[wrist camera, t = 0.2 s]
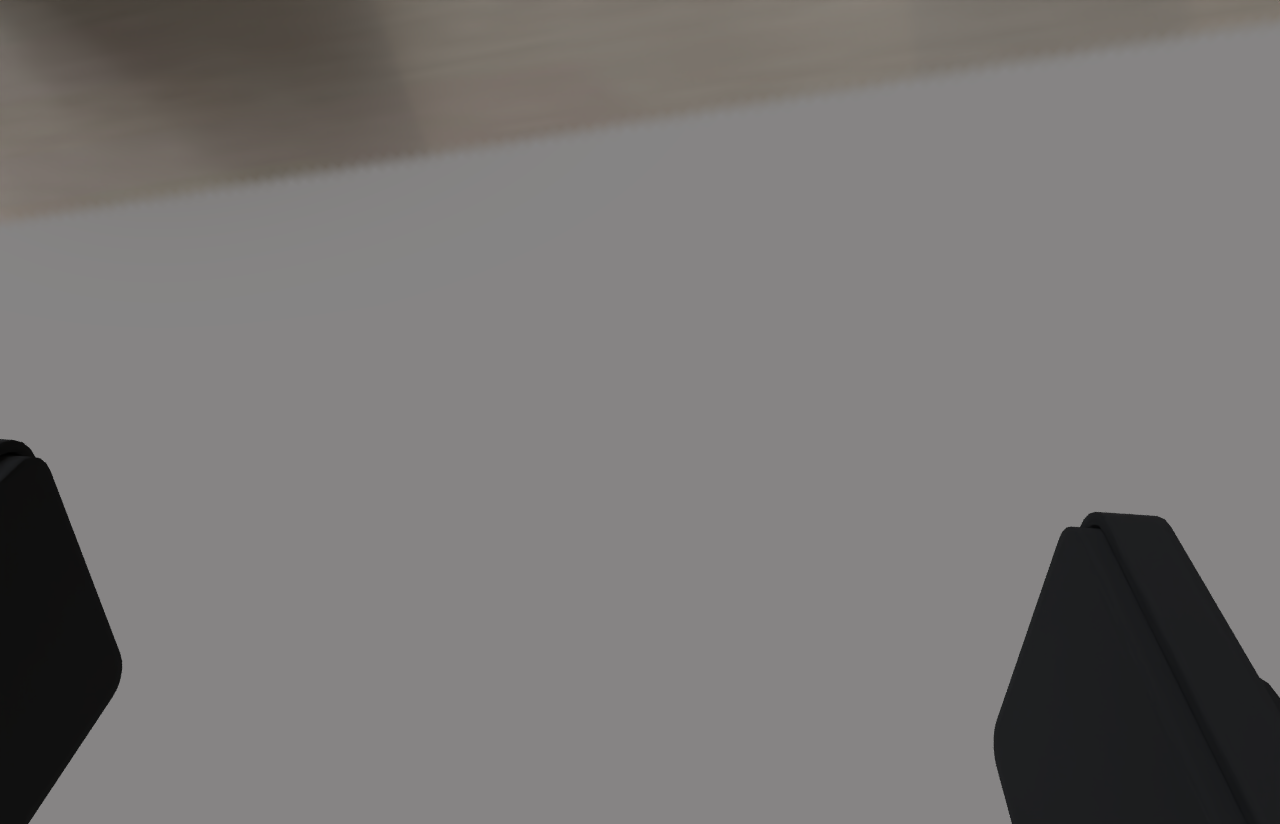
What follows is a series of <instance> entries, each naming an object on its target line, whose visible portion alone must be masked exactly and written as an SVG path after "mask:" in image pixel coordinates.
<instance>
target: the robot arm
mask: <svg viewBox="0 0 1280 824" xmlns="http://www.w3.org/2000/svg"><path fill="white" fill-rule="evenodd" d="M121 673H122V659H121V655H120V652H119V649H118V646H117V644H116V641H115V639H114V636H113V633H112V631H111V628H110V626H109V623H108V620H107V618H106V615H105V612H104V610H103V607H102V605H101V602H100V599H99V597H98V594H97V592H96V589H95V587H94V584H93V581H92V579H91V576H90V573H89V570H88V568H87V565H86V563H85V560H84V557H83V555H82V552H81V550H80V547H79V544H78V542H77V539H76V536H75V534H74V531H73V529H72V526H71V523H70V521H69V518H68V516H67V513H66V510H65V508H64V505H63V502H62V500H61V497H60V495H59V492H58V489H57V487H56V484H55V482H54V479H53V476H52V474H51V471H50V469H49V467H48V466H47V464H46V463H45V462H44V461H43V460H41V459H40V458H36V457H35V456H34V454H33V452H32V451H31V449H30V448H29V447H28V446H26V445H25V444H24V443H23V442H18V441H15V440H4V439H0V824H28V823H29V822H30V820H31V819H32V817H33V816H34V814H35V813H36V811H37V810H38V808H39V807H40V805H41V804H42V802H43V801H44V799H45V798H46V796H47V795H48V793H49V792H50V790H51V788H52V787H53V786H54V784H55V783H56V781H57V780H58V778H59V777H60V775H61V774H62V772H63V771H64V769H65V768H66V766H67V765H68V763H69V762H70V760H71V759H72V757H73V755H74V754H75V753H76V751H77V749H78V748H79V746H80V745H81V744H82V742H83V741H84V739H85V738H86V736H87V735H88V733H89V731H90V730H91V729H92V727H93V726H94V724H95V723H96V721H97V720H98V718H99V716H100V715H101V714H102V712H103V710H104V709H105V707H106V706H107V705H108V703H109V702H110V700H111V698H112V697H113V695H114V693H115V691H116V689H117V688H118V685H119V682H120V678H121ZM994 755H995V761H996V766H997V770H998V773H999V777H1000V781H1001V785H1002V788H1003V792H1004V795H1005V799H1006V803H1007V807H1008V811H1009V814H1010V818H1011V822H1012V824H1280V698H1279V696H1278V695H1277V694H1276V692H1275V691H1274V690H1273V689H1272V687H1271V686H1270V685H1269V684H1268V683H1267V682H1265V681H1264V680H1262V679H1261V678H1259V676H1258V675H1257V673H1256V671H1255V669H1254V668H1253V666H1252V664H1251V663H1250V661H1249V659H1248V657H1247V656H1246V654H1245V653H1244V651H1243V649H1242V647H1241V645H1240V644H1239V642H1238V640H1237V639H1236V637H1235V635H1234V633H1233V632H1232V630H1231V629H1230V627H1229V625H1228V623H1227V622H1226V620H1225V618H1224V617H1223V615H1222V613H1221V611H1220V610H1219V608H1218V606H1217V604H1216V603H1215V601H1214V599H1213V598H1212V596H1211V594H1210V593H1209V591H1208V589H1207V587H1206V586H1205V584H1204V582H1203V581H1202V579H1201V577H1200V576H1199V574H1198V572H1197V571H1196V569H1195V567H1194V565H1193V564H1192V562H1191V560H1190V559H1189V557H1188V555H1187V553H1186V552H1185V550H1184V548H1183V546H1182V545H1181V543H1180V541H1179V540H1178V538H1177V536H1176V535H1175V533H1174V531H1173V529H1172V528H1171V526H1170V525H1169V524H1168V523H1167V522H1166V520H1165V519H1163V518H1160V517H1158V516H1149V515H1147V516H1146V515H1133V514H1117V513H1102V512H1094V513H1090V514H1089V515H1088V516H1087V517H1086V518H1085V519H1084V520H1083V522H1082V525H1081V526H1080V527H1068V528H1066V529H1065V530H1064V531H1063V532H1062V534H1061V536H1060V538H1059V541H1058V544H1057V546H1056V549H1055V552H1054V555H1053V558H1052V561H1051V564H1050V567H1049V570H1048V573H1047V575H1046V578H1045V581H1044V584H1043V587H1042V590H1041V593H1040V596H1039V599H1038V602H1037V605H1036V607H1035V610H1034V613H1033V617H1032V619H1031V622H1030V625H1029V628H1028V631H1027V634H1026V637H1025V640H1024V642H1023V646H1022V649H1021V651H1020V654H1019V657H1018V661H1017V663H1016V666H1015V669H1014V672H1013V675H1012V677H1011V681H1010V684H1009V686H1008V689H1007V692H1006V695H1005V698H1004V701H1003V704H1002V707H1001V710H1000V713H999V715H998V718H997V722H996V725H995V731H994Z"/></svg>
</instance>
